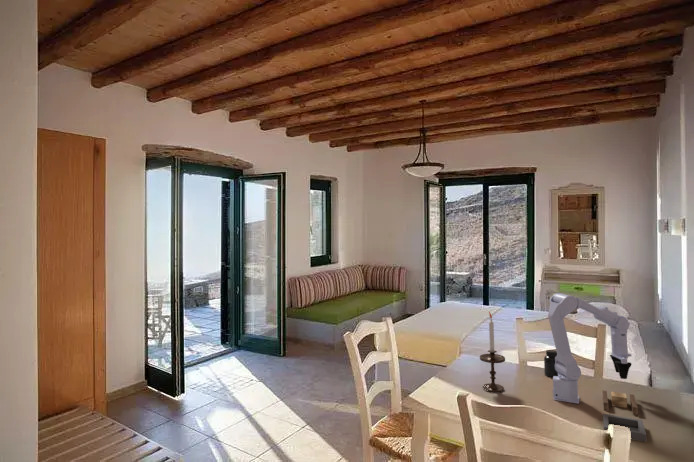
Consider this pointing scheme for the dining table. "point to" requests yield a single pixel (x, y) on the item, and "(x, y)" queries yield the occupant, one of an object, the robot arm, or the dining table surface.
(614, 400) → the oak block
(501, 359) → the candlestick
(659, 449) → the dining table surface
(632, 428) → the trap pit
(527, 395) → the dining table surface
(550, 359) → the supplement bottle
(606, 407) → the walnut channel
